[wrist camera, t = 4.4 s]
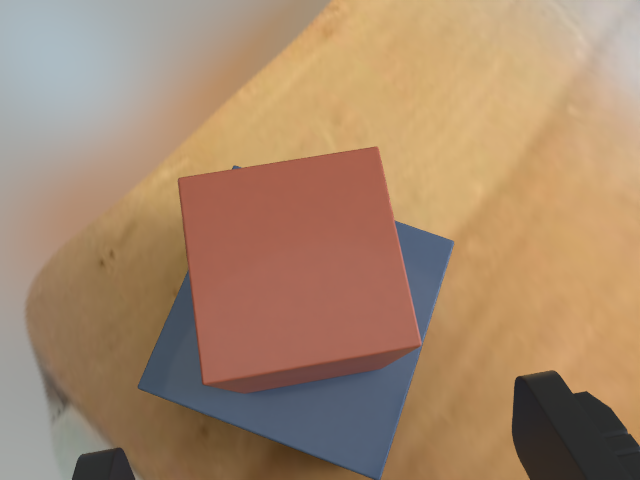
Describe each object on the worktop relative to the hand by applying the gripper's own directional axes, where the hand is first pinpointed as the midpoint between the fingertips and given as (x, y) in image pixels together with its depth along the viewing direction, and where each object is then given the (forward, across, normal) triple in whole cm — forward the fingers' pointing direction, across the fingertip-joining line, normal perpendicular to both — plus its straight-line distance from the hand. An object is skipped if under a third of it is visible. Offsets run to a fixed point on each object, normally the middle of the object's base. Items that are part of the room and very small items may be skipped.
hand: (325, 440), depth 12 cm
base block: (+13, 0, +8) cm, 15 cm away
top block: (+9, 0, +3) cm, 10 cm away
